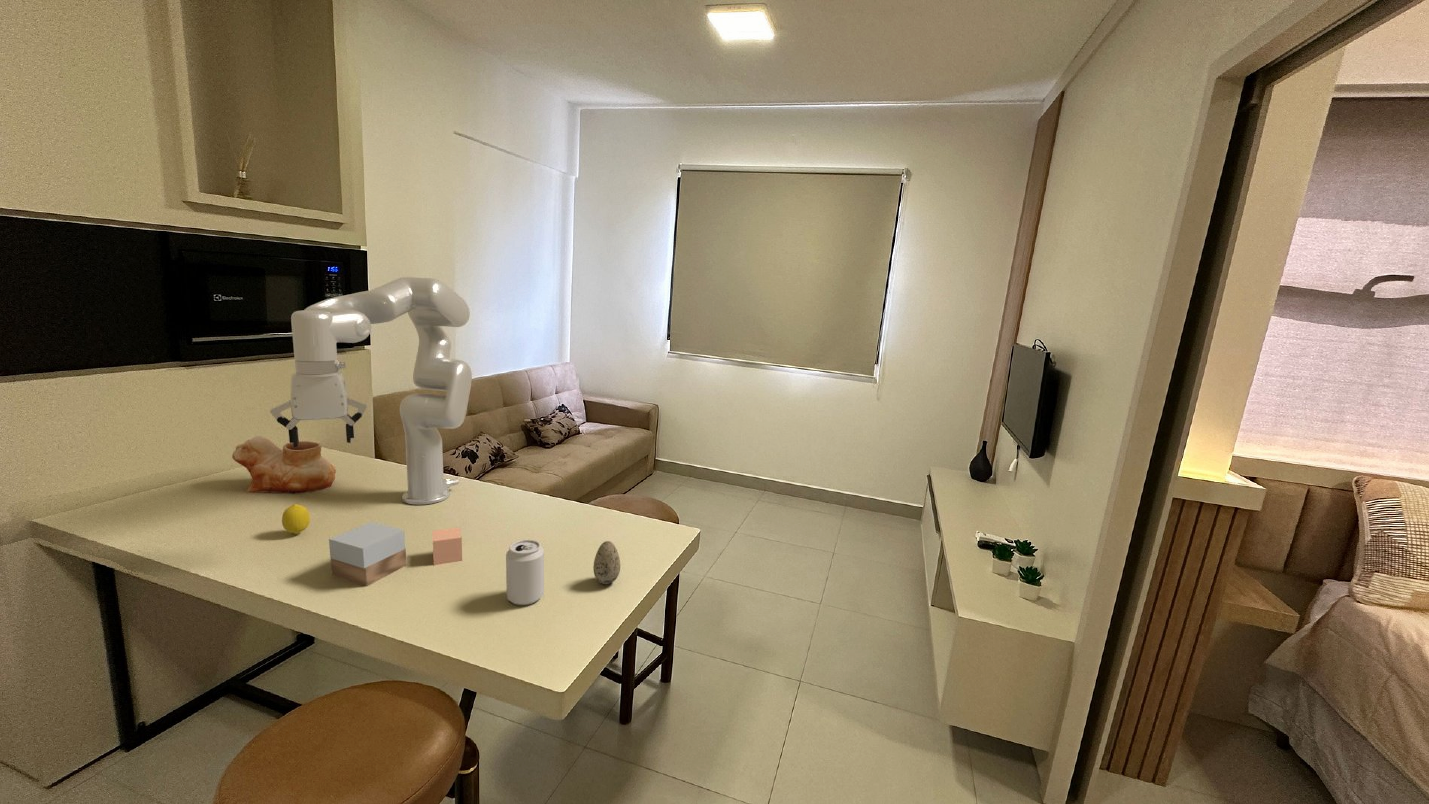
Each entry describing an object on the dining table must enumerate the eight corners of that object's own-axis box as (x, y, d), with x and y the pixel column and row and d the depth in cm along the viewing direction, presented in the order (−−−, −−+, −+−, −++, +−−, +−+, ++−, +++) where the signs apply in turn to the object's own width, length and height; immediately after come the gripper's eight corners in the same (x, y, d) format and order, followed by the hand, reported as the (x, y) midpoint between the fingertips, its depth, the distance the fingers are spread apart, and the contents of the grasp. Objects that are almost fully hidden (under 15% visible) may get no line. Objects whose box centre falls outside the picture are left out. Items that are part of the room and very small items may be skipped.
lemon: (296, 540, 133) (293, 509, 132) (277, 537, 134) (274, 506, 133) (316, 531, 138) (314, 501, 137) (298, 528, 139) (295, 498, 138)
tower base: (373, 557, 128) (372, 539, 127) (406, 566, 125) (405, 548, 124) (332, 577, 119) (330, 558, 118) (367, 587, 116) (365, 568, 115)
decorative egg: (621, 588, 122) (622, 546, 120) (594, 590, 120) (595, 548, 118) (618, 574, 127) (619, 534, 125) (592, 576, 125) (593, 536, 123)
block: (433, 553, 131) (432, 530, 130) (460, 549, 134) (460, 527, 133) (433, 565, 126) (432, 541, 125) (462, 561, 129) (461, 537, 128)
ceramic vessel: (256, 477, 171) (251, 430, 168) (346, 479, 174) (343, 433, 171) (222, 493, 158) (216, 443, 155) (320, 495, 161) (316, 446, 158)
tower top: (372, 539, 127) (371, 521, 127) (405, 548, 124) (404, 530, 123) (330, 558, 118) (328, 538, 117) (364, 568, 115) (363, 548, 114)
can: (512, 587, 119) (511, 536, 117) (547, 588, 120) (547, 537, 117) (502, 607, 112) (501, 553, 109) (539, 607, 112) (539, 554, 110)
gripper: (363, 364, 127) (368, 435, 130) (268, 366, 118) (276, 442, 121) (364, 369, 121) (369, 444, 124) (263, 371, 111) (271, 452, 115)
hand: (323, 443), depth 122 cm, fingers open, 9 cm apart
